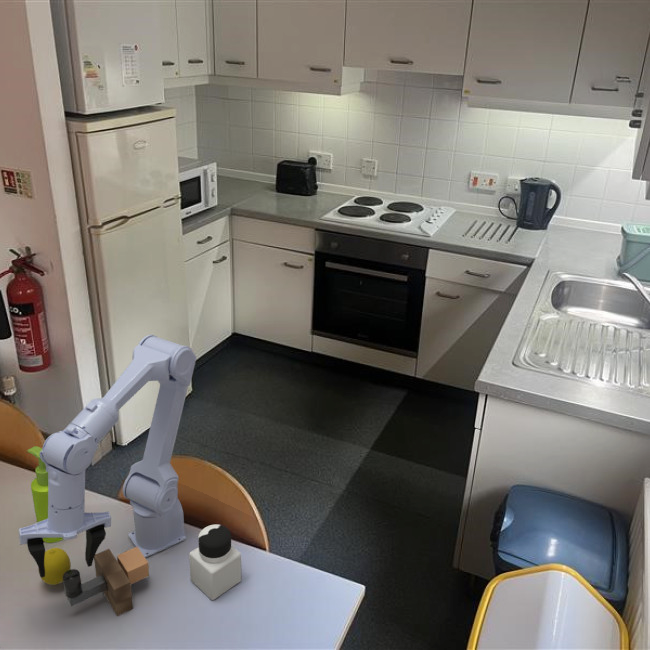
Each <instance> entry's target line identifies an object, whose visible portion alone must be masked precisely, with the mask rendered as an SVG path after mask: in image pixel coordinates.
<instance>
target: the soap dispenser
mask: <svg viewBox="0 0 650 650" xmlns="http://www.w3.org/2000/svg"><path fill="white" fill-rule="evenodd" d="M42 448H43V447H40V446H37V445H36V446H35V445H34V446H33V447H31V448H29V449H27V450H26V452H27V453H29V454H31V455H32V456H34V457H35V458H36V459H37V460H38V464H39V465H37V466H36V467H35V476H36V477H35V478H34V479H32V481H31V484H30V489H31V496H32V500H33V507H34V512H35V518H36V523H38V522H40V521H43V520H45V519H48V472H47V471H46V464H45V463H44V462H43V461H42V460H41V458H40V452H41V451H42ZM62 540H64V539H63V537H51V538H43V541H44V543H47V544H52V543H58V542H60V541H62Z"/></svg>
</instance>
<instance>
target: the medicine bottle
mask: <svg viewBox="0 0 650 650" xmlns="http://www.w3.org/2000/svg"><path fill="white" fill-rule="evenodd" d="M197 537H198V547H197V548H194V549H193V550H191V551H190V552H189V555H188V557H189V558H188V559H189V574H190V575H189V576H190V581H191V582H192V583H193V584H194V585H195V586H196V587H198V589H199V590H200V591H202V592H203V593H204V594H205V595H206V597H208V598H209V599H210V600H211V601H215V600H216V599H218V598H219V597H221V596H222V595H223V594H224V593H226V592H227V591H229V590H230V589H231V588H233V587H234V586H236V585H237V584H240V582H241V581H242V553H241V552H240V551H239V550H237V549H236V548H235V547H233V545H232V532H231V531H230V529H229V528H228V527H226V526H225V525H222V524H218V523H217V524H211V525H208V526H206V527H204V528H202V529H201V531H200V532H199V534H198V536H197Z"/></svg>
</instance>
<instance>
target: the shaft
mask: <svg viewBox="0 0 650 650" xmlns="http://www.w3.org/2000/svg"><path fill="white" fill-rule="evenodd" d="M149 569H150V568H149ZM149 569H148V570H149ZM149 571H150V570H149ZM124 573H125V572H124ZM63 588H64V594H65V597H66V598H67V601H68V603H69V605H70V607H71V608H72V607H74V606H77V604H81V603H83V602H85V601H86V600H89V599H90V598H93V597H96V596H98V595H99V594H102V593H103V592H104V591H106V590H108V587H107V581H106V579H105V578H104V576H103V575H101V576H98V577H94V578H93V579H92V578H91V579H90V580H88V581H85V582H83V583H82V579H81V572H80V570H78V569H75V568H72V569H71V568H70V570H68V571H67V572H65V573H64V575H63Z"/></svg>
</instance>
